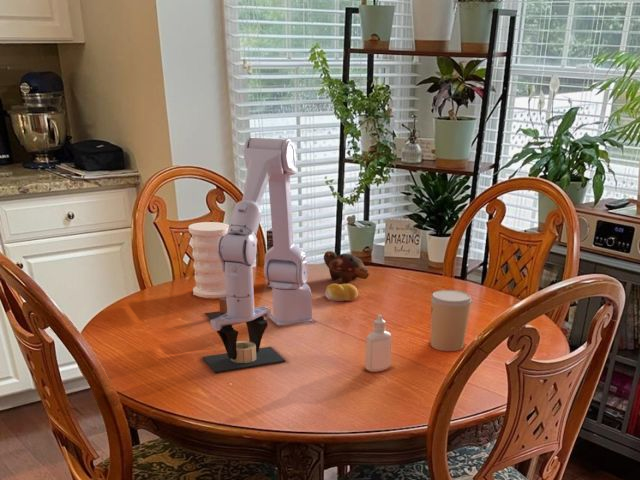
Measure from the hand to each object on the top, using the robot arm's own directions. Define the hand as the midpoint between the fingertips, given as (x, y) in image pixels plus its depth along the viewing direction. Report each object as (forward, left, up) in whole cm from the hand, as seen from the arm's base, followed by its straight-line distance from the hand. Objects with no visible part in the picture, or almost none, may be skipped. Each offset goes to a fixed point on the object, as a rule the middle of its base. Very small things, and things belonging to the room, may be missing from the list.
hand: (243, 354), depth 157 cm
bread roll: (-40, -33, -2) cm, 52 cm away
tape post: (-5, -29, -1) cm, 30 cm away
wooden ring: (0, 0, -1) cm, 1 cm away
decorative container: (-9, -50, -2) cm, 51 cm away
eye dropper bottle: (-25, +16, -2) cm, 30 cm away
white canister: (-47, +10, -2) cm, 48 cm away
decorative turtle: (-49, -48, -2) cm, 69 cm away
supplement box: (-29, -51, -2) cm, 59 cm away
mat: (0, 0, -1) cm, 1 cm away
